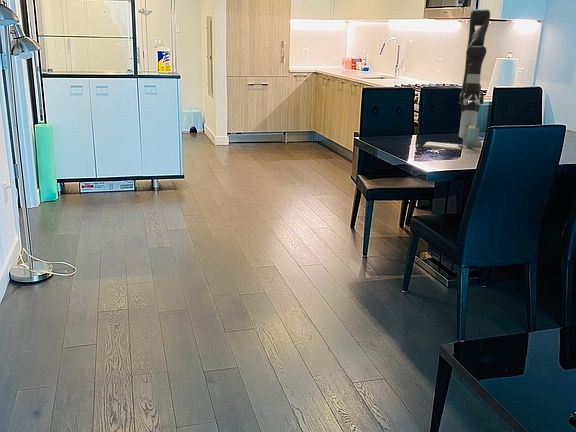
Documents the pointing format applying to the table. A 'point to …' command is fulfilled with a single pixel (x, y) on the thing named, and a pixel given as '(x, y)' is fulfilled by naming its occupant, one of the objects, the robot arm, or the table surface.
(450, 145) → the clipboard
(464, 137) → the cup
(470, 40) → the robot arm
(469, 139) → the marker
